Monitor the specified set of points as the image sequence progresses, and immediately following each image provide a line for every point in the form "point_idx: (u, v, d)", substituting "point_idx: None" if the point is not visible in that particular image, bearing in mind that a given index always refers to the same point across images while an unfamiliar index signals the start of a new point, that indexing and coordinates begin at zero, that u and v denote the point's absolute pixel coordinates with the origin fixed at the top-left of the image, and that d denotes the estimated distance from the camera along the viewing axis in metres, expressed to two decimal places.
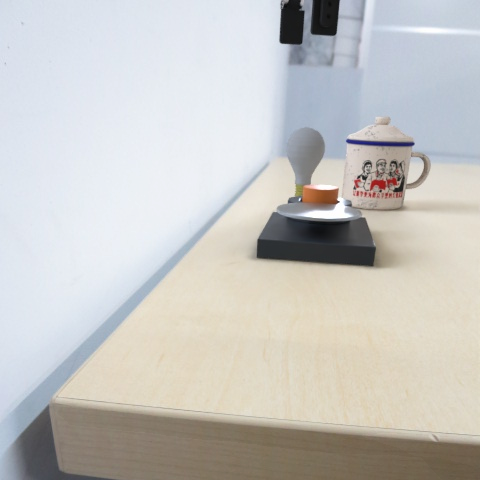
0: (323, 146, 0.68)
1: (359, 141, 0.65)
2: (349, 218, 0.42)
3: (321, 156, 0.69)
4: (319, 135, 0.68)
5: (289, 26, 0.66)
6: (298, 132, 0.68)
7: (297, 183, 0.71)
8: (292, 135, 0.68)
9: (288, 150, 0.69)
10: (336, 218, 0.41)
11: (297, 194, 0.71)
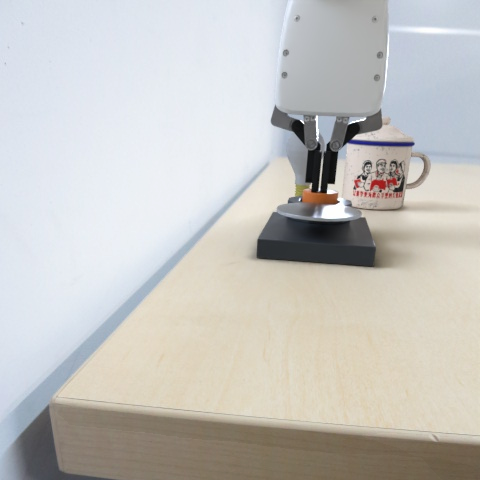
0: (323, 146, 0.68)
1: (359, 141, 0.65)
2: (349, 218, 0.42)
3: None
4: (319, 135, 0.68)
5: None
6: None
7: (297, 183, 0.71)
8: (292, 135, 0.68)
9: (288, 150, 0.69)
10: (336, 218, 0.41)
11: (297, 194, 0.71)
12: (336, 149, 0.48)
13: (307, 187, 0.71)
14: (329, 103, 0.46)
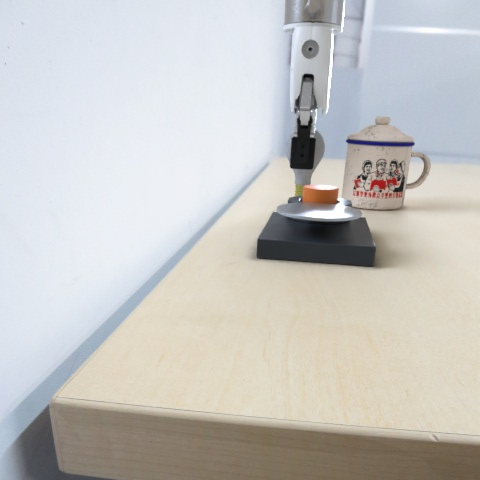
0: (323, 146, 0.68)
1: (359, 141, 0.65)
2: (349, 218, 0.42)
3: (321, 156, 0.68)
4: (319, 135, 0.67)
5: None
6: None
7: (297, 183, 0.71)
8: (291, 135, 0.68)
9: (287, 151, 0.68)
10: (336, 218, 0.41)
11: (297, 194, 0.71)
12: None
13: None
14: None
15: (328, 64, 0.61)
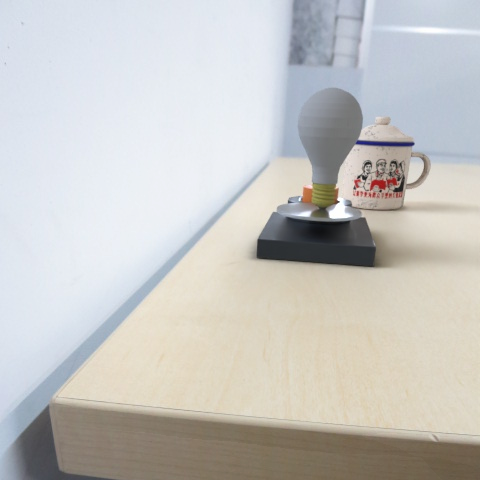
0: (360, 119, 0.41)
1: (359, 141, 0.65)
2: (349, 218, 0.42)
3: (357, 136, 0.41)
4: (354, 101, 0.40)
5: None
6: (319, 95, 0.40)
7: (316, 181, 0.43)
8: (308, 100, 0.41)
9: (302, 127, 0.41)
10: (336, 218, 0.41)
11: (315, 199, 0.44)
12: None
13: (332, 188, 0.44)
14: None
15: None
